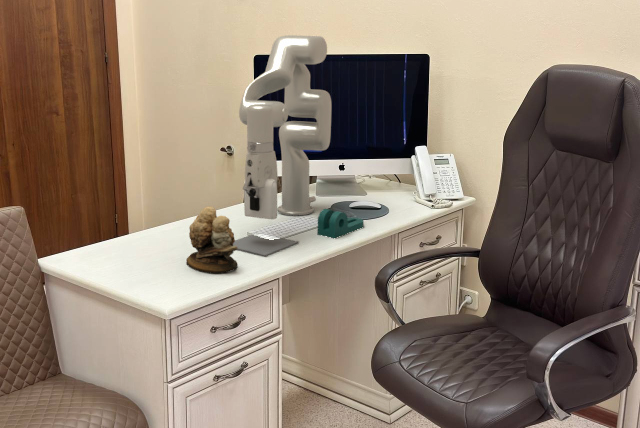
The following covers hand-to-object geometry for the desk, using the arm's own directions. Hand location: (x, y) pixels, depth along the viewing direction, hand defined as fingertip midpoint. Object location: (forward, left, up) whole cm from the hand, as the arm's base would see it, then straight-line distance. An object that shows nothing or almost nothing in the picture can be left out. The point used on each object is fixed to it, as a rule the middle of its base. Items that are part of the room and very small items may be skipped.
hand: (260, 207), depth 218 cm
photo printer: (0, 0, -3) cm, 3 cm away
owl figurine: (+22, +1, -12) cm, 25 cm away
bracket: (-28, +11, -12) cm, 32 cm away
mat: (0, 0, -12) cm, 12 cm away
